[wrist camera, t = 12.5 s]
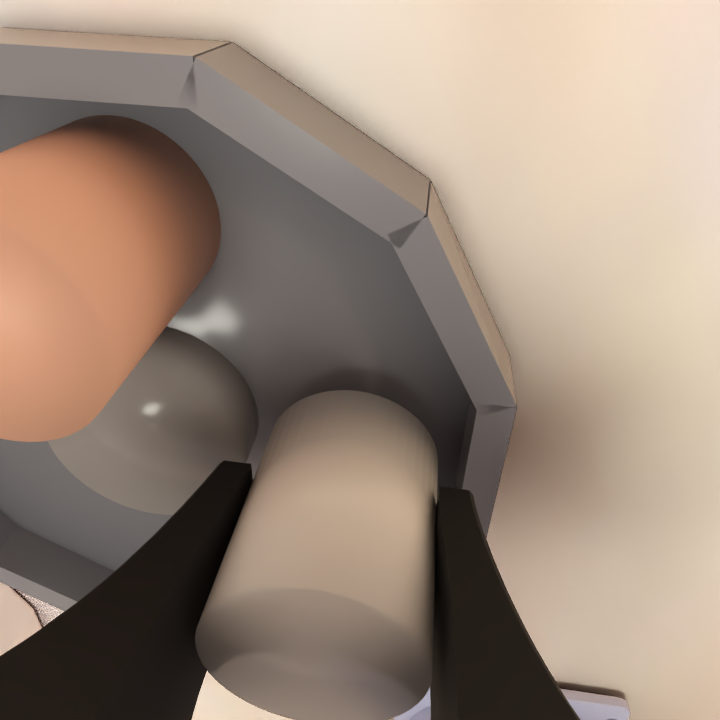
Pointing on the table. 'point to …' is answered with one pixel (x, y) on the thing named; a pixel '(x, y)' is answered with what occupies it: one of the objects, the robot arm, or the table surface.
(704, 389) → the table surface
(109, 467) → the groove tray
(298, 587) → the bead cream
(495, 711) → the robot arm
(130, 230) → the bead terracotta
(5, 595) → the white cup
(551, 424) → the table surface
